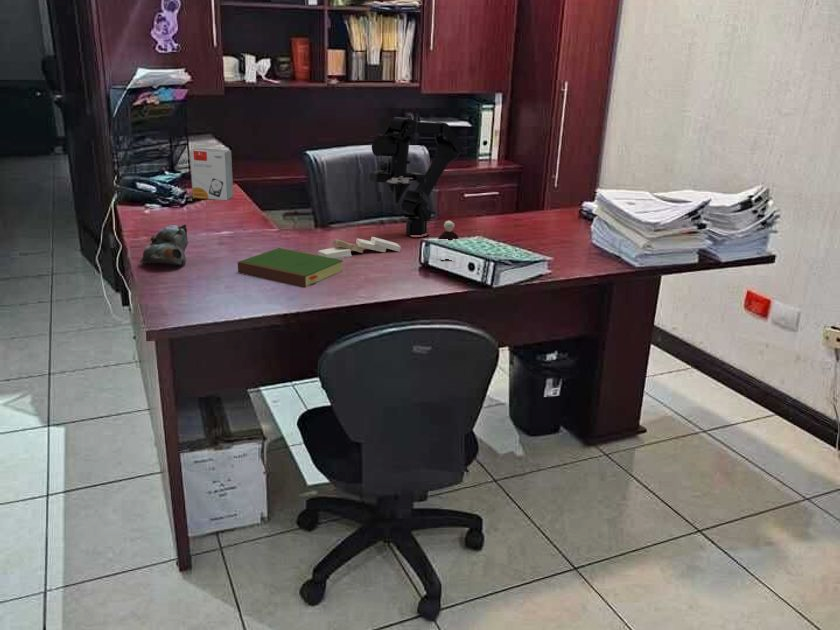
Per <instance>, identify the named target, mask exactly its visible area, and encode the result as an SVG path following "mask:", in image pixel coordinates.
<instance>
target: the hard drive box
mask: <svg viewBox="0 0 840 630" xmlns="http://www.w3.org/2000/svg"><path fill="white" fill-rule="evenodd" d="M232 159H233V158H232V150H230V149H220V148H218V149H216V148H215V149H214V148H203V147H196V148H191V149H189V161H190V162H189V163H190V178H191V189H192V190H191V191H192V193H191V194H192V198H193V199H199V200H202V199H203V200H204V199H205V200H217V201H229V200H230V199H232V198H234V182H233V181H234V179H233V178H234V177H233V165H232V164H233V161H232Z"/></svg>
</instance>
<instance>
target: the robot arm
mask: <svg viewBox="0 0 840 630" xmlns="http://www.w3.org/2000/svg"><path fill="white" fill-rule="evenodd" d="M417 134H434V142H436V145H437V146H436V149H435V153H436V154H435V158H434V159H433V161H432V163H431V164H430V166H429V167H428V169H427V170H426V172H425V173H424V174H423V173H419V172H408V165H409V164H410V163H411V161H410V160H409V151H410V144H414V143H415V140H414V139H413V138H412V137H413V136H415V135H417ZM411 136H412V137H411ZM462 151H463V143H462V141H461V139H460V137H459V135H457V134H456V132H455V131H453V129H451V127H450V126H449V124H448V123H447V122H442V121H436V122H433V121H417V120H415V119H412V118H407V117H399V116H394V117H393V118H392V120H391V122H390V124H389V125H388V127H387V129H386V130H385V131H384V133H383V134H377V135H376V138H375V139H374V140H373V141H372V144H371V152H372V154H373V155H374V156H375V157H390V158H388V161H387V162H385V161H383V160H382V161H381V160H380V161H377V166H376V170H377V171H371V172H370V174H369V181H372V182H375V183H385V184H387V185H388V186H389V189H390V192H391V195H392V199H393V202H394V204H398V203H399V201H400V199H401V198H402V202H401V212H402V213H403V216H404V218H407V219H406V220H407V222H406V225H405V226H406V227H405V233H406V234H407V235H406V234H405V235H406V236H408V235H422V234H425V233H427V230H428V221H430V220H431V218H432V215H433V214H432V213H431V211H430V210H429V208H428V205H429V196H430V194H431V192H432V191H433V189H434V188H435V186H436V185H437V183H438V181H439V180H440V178H441V177H442V174H443V173H444V171H445V170H446V168H447V166H448V164H450V163H451V162H453V161H455V160H456V159H457V158H458V157H459V156H460V154H461V153H462ZM409 181H413V182H414V181H416V183H418V186H417V187H416V188H415V189H414V190H407V188H408V187H409V186H411V183H409ZM406 190H407V192H406V193H405V191H406ZM404 193H405V195H404V196H403V194H404ZM402 196H403V197H402ZM427 234H428V233H427Z"/></svg>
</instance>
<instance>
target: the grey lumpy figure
mask: <svg viewBox="0 0 840 630" xmlns="http://www.w3.org/2000/svg"><path fill="white" fill-rule="evenodd" d="M187 229H188V228H187V224H186V223H185V224H183V225H181V226H179V225H175V224H173V225H172V224H170V225H166V226H164V227H163V228H162V229H160V230H159V231H158V232H157V233H156V235H152V236H151V237H150V242H151V243H150V244H149V245H147V246H146V247H145V248H144V250H143V253H142V258H140V259H139V260H138V262H139V263H141V264H143V265H144V264H145V265H146V263H148V264H164V265H174V266H175V265H176V266H178V265H181V266H180V267H184V266H185V265H186V261H187V260H186V259H187V258H186V254H185V251H186V248H187V247H188V245H189V237H188V230H187ZM183 265H184V266H183Z"/></svg>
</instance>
